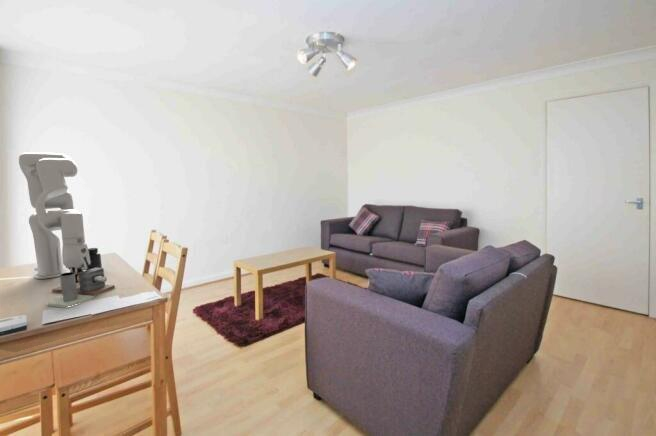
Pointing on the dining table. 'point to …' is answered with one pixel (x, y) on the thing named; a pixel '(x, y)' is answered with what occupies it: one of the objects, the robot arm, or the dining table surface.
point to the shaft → (96, 278)
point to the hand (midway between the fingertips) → (78, 282)
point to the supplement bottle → (94, 259)
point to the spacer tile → (69, 303)
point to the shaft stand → (89, 283)
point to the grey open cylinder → (68, 286)
